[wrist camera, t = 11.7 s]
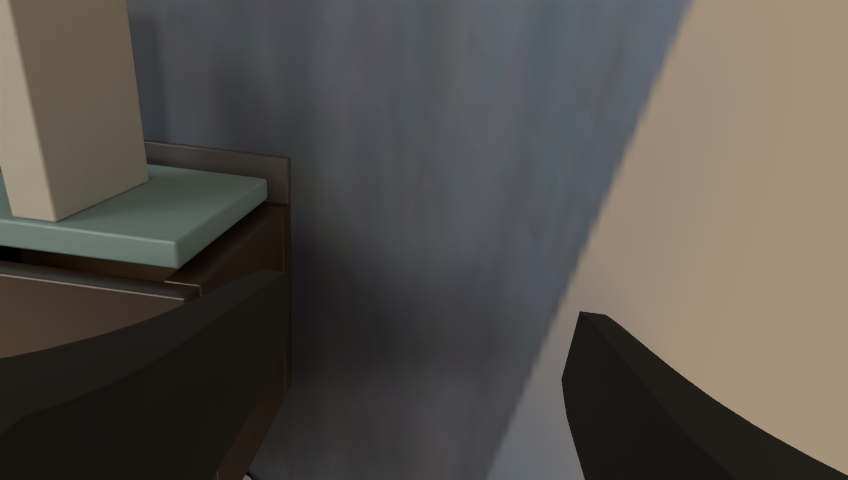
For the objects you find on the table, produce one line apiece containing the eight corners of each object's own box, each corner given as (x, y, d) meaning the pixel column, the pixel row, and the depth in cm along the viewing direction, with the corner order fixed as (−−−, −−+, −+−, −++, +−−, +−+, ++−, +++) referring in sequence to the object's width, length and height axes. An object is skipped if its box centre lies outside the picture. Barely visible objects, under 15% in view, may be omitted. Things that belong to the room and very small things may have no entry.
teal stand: (268, 198, 18) (178, 270, 12) (68, 173, 18) (-108, 232, 13) (263, 5, 15) (147, -16, 10) (30, -22, 16) (-212, -55, 10)
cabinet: (291, 384, 22) (211, 542, 15) (-37, 338, 23) (-260, 470, 16) (289, 157, 18) (178, 231, 11) (-114, 107, 19) (-462, 148, 12)
